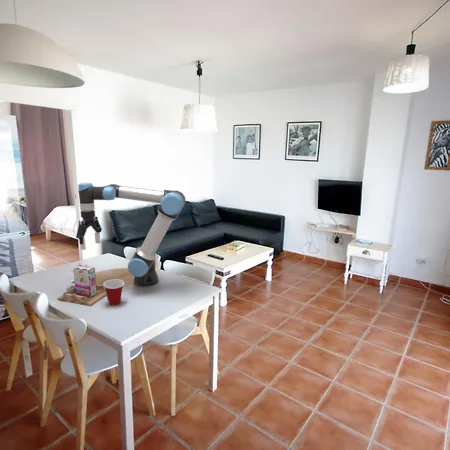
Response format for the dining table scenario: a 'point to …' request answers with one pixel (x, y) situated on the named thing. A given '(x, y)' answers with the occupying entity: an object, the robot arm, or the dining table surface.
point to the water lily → (73, 273)
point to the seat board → (79, 299)
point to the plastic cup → (114, 290)
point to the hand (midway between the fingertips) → (90, 246)
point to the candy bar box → (85, 280)
